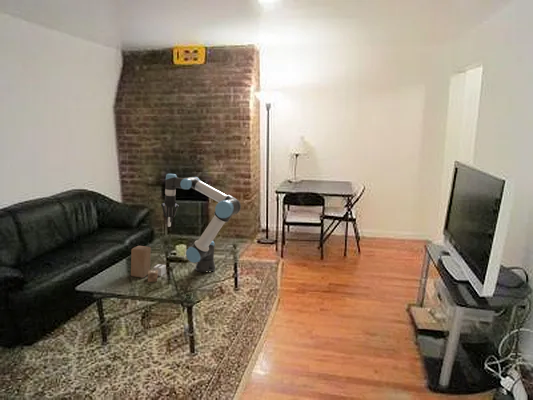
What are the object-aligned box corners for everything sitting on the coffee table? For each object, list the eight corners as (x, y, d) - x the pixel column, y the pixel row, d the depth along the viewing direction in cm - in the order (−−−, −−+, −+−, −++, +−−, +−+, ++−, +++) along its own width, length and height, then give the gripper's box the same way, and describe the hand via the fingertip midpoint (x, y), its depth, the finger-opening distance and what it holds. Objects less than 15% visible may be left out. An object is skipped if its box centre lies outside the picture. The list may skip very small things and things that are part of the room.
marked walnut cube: (157, 278, 259) (157, 269, 258) (157, 281, 253) (157, 273, 252) (148, 278, 258) (148, 270, 257) (147, 281, 252) (148, 273, 251)
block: (143, 278, 257) (144, 250, 254) (130, 276, 259) (130, 248, 255) (150, 273, 266) (151, 246, 263) (137, 271, 268) (138, 245, 265)
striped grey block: (165, 273, 270) (165, 264, 269) (161, 276, 263) (161, 268, 262) (158, 271, 271) (158, 263, 270) (153, 275, 264) (153, 266, 263)
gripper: (180, 194, 275) (179, 225, 279) (163, 193, 275) (161, 224, 279) (177, 196, 267) (176, 228, 271) (159, 194, 268) (158, 226, 271)
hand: (169, 226), depth 275 cm, fingers closed
